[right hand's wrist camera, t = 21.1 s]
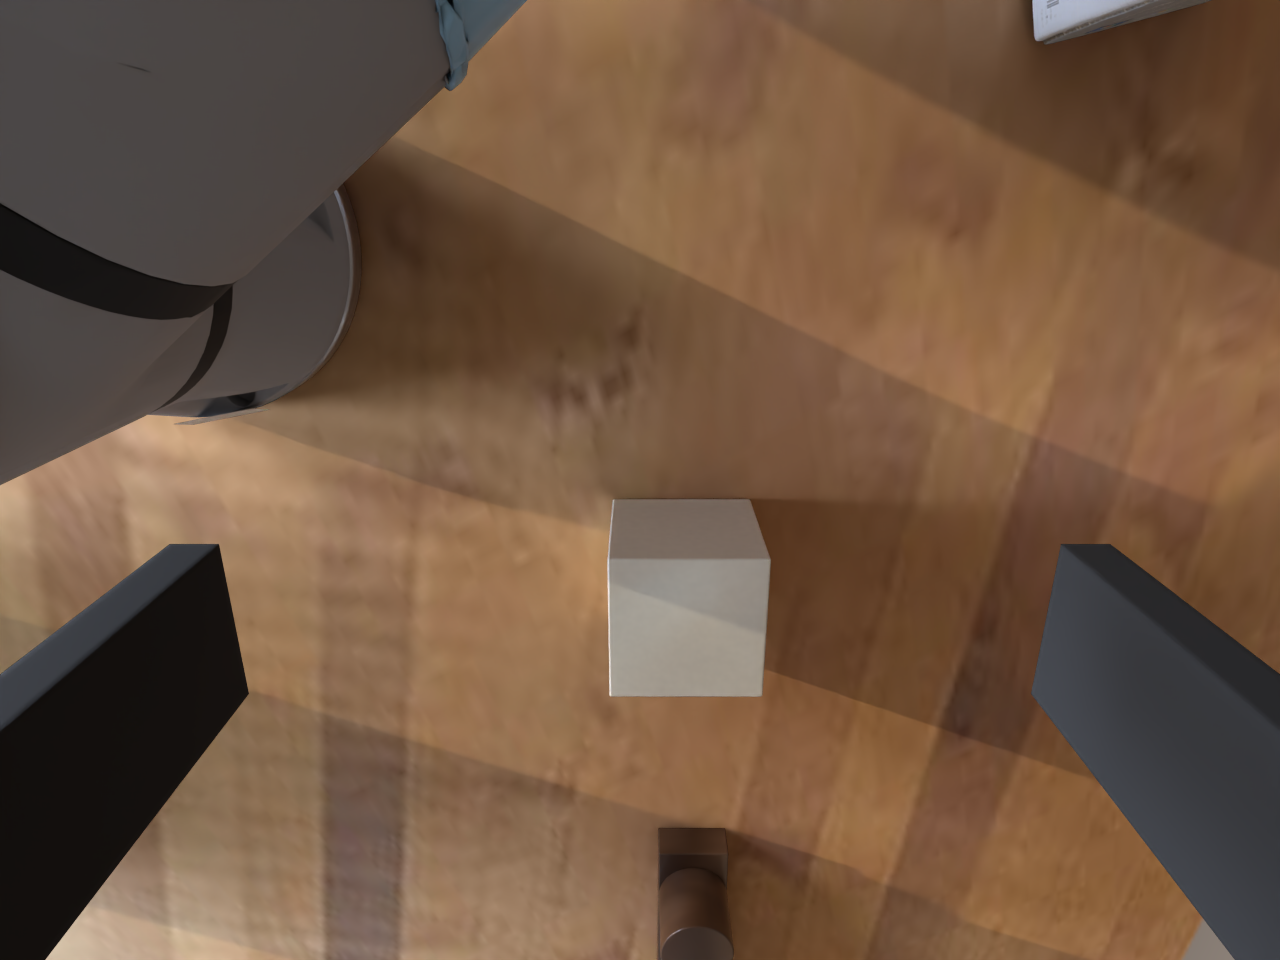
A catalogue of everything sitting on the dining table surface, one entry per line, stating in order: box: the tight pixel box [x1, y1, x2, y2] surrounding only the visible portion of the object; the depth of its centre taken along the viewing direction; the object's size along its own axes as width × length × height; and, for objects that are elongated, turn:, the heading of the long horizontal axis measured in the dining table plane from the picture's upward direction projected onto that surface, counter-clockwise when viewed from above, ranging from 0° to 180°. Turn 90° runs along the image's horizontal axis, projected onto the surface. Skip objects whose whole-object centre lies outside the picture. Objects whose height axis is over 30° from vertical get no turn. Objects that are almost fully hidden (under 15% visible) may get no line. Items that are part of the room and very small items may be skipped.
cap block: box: [607, 499, 771, 697], centre depth 39 cm, size 7×7×7 cm
